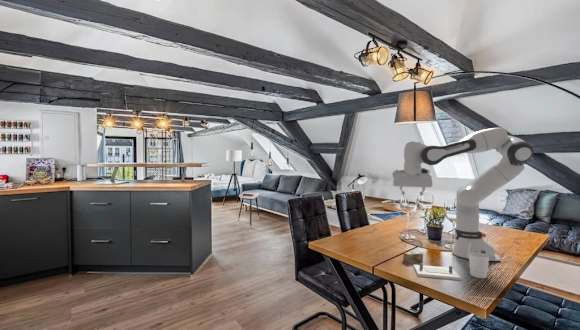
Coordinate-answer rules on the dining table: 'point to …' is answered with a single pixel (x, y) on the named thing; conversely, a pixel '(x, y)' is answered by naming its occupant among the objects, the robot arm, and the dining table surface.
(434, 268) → the wall panel
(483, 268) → the pale white cylinder
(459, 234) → the robot arm
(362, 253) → the dining table surface
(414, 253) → the walnut frame
